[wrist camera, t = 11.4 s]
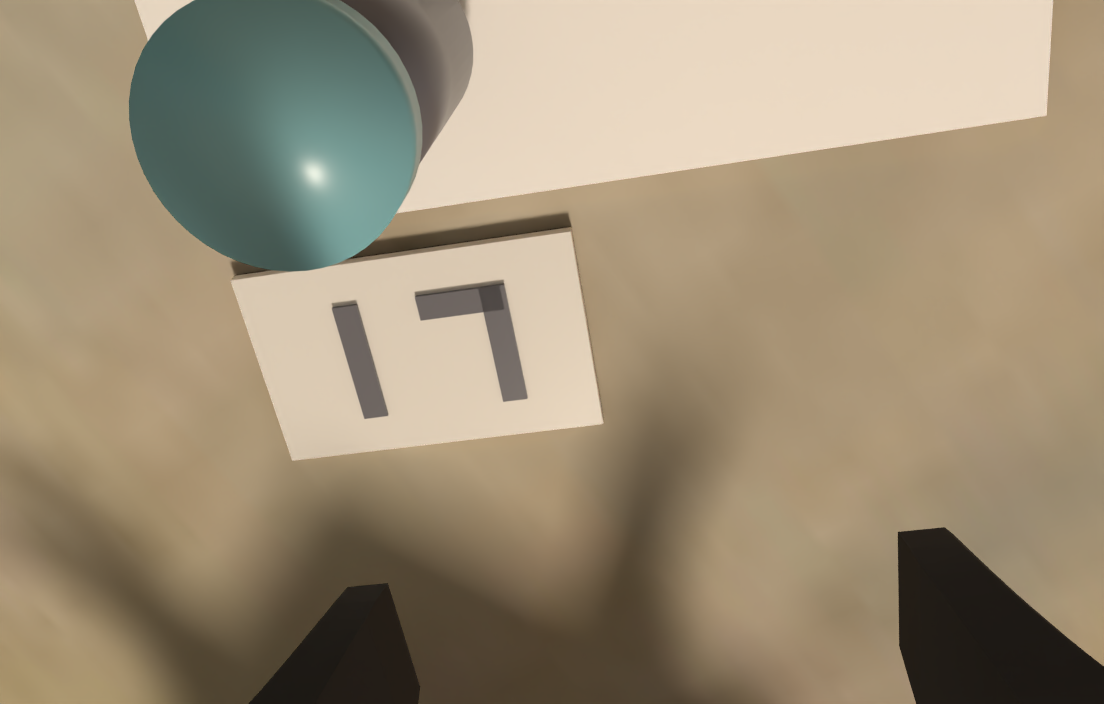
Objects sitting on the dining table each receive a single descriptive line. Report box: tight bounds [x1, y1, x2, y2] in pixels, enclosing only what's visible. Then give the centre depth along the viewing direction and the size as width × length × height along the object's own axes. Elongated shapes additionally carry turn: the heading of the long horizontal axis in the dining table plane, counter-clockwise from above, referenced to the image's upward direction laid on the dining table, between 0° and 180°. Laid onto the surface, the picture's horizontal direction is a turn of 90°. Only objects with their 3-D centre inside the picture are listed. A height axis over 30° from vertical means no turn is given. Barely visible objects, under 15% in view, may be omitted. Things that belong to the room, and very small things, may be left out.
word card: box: [231, 227, 603, 461], centre depth 23 cm, size 8×5×1 cm, turn 100°
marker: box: [129, 0, 473, 272], centre depth 16 cm, size 4×4×8 cm
